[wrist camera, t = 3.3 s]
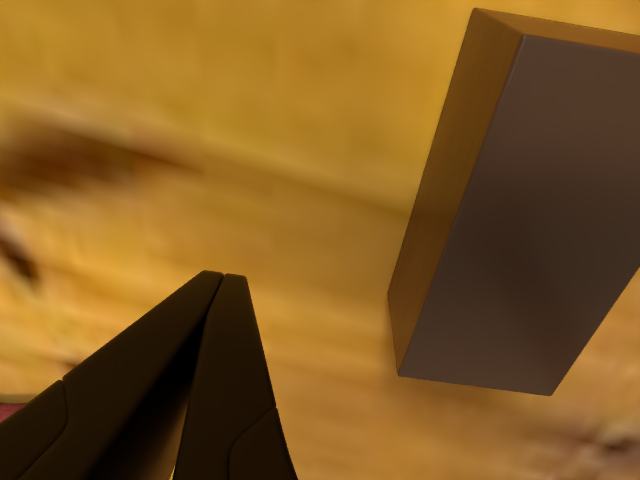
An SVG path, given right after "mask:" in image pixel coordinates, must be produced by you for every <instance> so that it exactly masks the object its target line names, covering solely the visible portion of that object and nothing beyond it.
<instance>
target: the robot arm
mask: <svg viewBox="0 0 640 480" xmlns="http://www.w3.org/2000/svg"><path fill="white" fill-rule="evenodd" d="M62 380H63V381H62ZM62 380H58V381H56V382H55V383H54V384H52V385H51V386H50V387H48V388H47V389H46V390H44V391H43V392H42V393H40V394H39V395H38V396H36V397H35V398H34V399H32V400H31V401H29V402H28V403H27V404H25V405H24V406H22V407H21V408H20V409H18V410H17V411H16V412H14V413H13V414H11V415H10V416H9V417H7V418H6V419H4V420H3V421H1V422H0V480H169V479H170V477H171V474H172V471H173V469H174V466H175V469H174V474H173V479H172V480H298V478H297V475H296V472H295V469H294V466H293V463H292V461H291V458H290V455H289V451H288V448H287V444H286V440H285V437H284V433H283V430H282V426H281V422H280V417H279V413H278V409H277V408H276V402H275V397H274V393H273V389H272V384H271V380H270V376H269V372H268V367H267V363H266V359H265V355H264V350H263V346H262V342H261V338H260V333H259V329H258V325H257V321H256V316H255V312H254V308H253V304H252V299H251V295H250V291H249V287H248V282H247V279H246V277H245V276H243V275H236V274H226V275H225V276H224V274H223V273H221V272H215V271H207V270H204V271H202V272H200V273H199V274H197V275H196V276H195V277H194V278H192V279H191V280H190V281H188V282H187V283H186V284H184V285H183V286H182V287H180V288H179V289H178V290H176V291H175V292H174V293H172V294H171V295H170V296H168V297H167V298H166V299H165V300H163V301H162V302H161V303H159V304H158V305H157V306H155V307H154V308H153V309H151V310H150V311H149V312H147V313H146V314H145V315H143V316H142V317H141V318H139V319H138V320H137V321H136V322H134V323H133V324H132V325H130V326H129V327H128V328H126V329H125V330H124V331H122V332H121V333H120V334H118V335H117V336H116V337H114V338H113V339H112V340H111V341H109V342H108V343H107V344H105V345H104V346H103V347H101V348H100V349H99V350H97V351H96V352H95V353H93V354H92V355H91V356H89V357H88V358H87V359H85V360H84V361H83V362H82V363H80V364H79V365H78V366H76V367H75V368H74V369H72V370H71V371H70V372H68V373H67V374H66V375H64V376H63V378H62ZM175 463H176V464H175Z"/></svg>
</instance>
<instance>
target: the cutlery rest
mask: <svg viewBox="0 0 640 480" xmlns="http://www.w3.org/2000/svg"><path fill="white" fill-rule="evenodd" d="M639 267H640V36H639V35H633V34H627V33H621V32H616V31H610V30H604V29H598V28H592V27H586V26H580V25H574V24H568V23H563V22H557V21H551V20H545V19H539V18H533V17H527V16H521V15H516V14H510V13H504V12H498V11H492V10H486V9H480V8H474V9H473V11H472V14H471V17H470V21H469V24H468V27H467V31H466V34H465V37H464V41H463V44H462V47H461V51H460V54H459V57H458V61H457V64H456V67H455V71H454V74H453V77H452V81H451V84H450V87H449V91H448V94H447V97H446V101H445V104H444V107H443V111H442V114H441V117H440V121H439V124H438V127H437V131H436V134H435V137H434V141H433V144H432V147H431V151H430V154H429V157H428V160H427V164H426V167H425V170H424V174H423V177H422V180H421V184H420V187H419V190H418V194H417V197H416V200H415V204H414V207H413V210H412V214H411V217H410V220H409V224H408V227H407V230H406V234H405V237H404V240H403V244H402V247H401V250H400V254H399V257H398V260H397V264H396V267H395V270H394V274H393V277H392V280H391V284H390V287H389V290H388V300H389V308H390V317H391V325H392V333H393V341H394V349H395V357H396V365H397V373H398V376H401V377H409V378H416V379H424V380H431V381H439V382H446V383H454V384H462V385H469V386H477V387H484V388H492V389H499V390H507V391H515V392H522V393H530V394H537V395H545V396H551V395H552V394H553V393H554V391H555V390H556V388H557V387H558V385H559V384H560V382H561V381H562V380H563V378H564V377H565V375H566V374H567V372H568V371H569V369H570V368H571V366H572V365H573V363H574V362H575V361H576V359H577V358H578V356H579V355H580V353H581V352H582V350H583V349H584V347H585V346H586V344H587V343H588V342H589V340H590V339H591V337H592V336H593V334H594V333H595V331H596V330H597V328H598V327H599V325H600V324H601V323H602V321H603V320H604V318H605V317H606V315H607V314H608V312H609V311H610V309H611V308H612V306H613V305H614V304H615V302H616V301H617V299H618V298H619V296H620V295H621V293H622V292H623V290H624V289H625V287H626V286H627V285H628V283H629V282H630V280H631V279H632V277H633V276H634V274H635V273H636V271H637V270H638V268H639Z"/></svg>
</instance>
